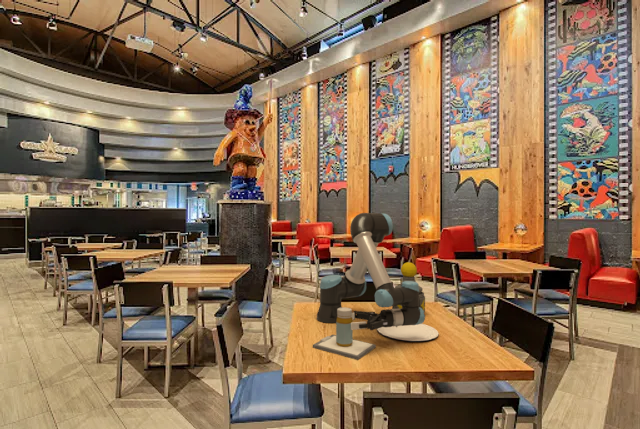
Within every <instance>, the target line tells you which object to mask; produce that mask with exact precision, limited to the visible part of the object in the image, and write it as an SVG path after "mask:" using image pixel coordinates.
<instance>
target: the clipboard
mask: <svg viewBox="0 0 640 429" xmlns="http://www.w3.org/2000/svg"><path fill="white" fill-rule="evenodd" d="M312 348H313V349H316V350H320V351H323V352H326V353H331V354H335V355H339V356H342V357H346V358H350V359H353V360H357V361H359V360H360V359H361V358H363V357H364V356H366V355H367V354H369V353H371V351H373V350H374V349H375V348H376V344H374V343H369V342H366V341H362V340H357V339H353V342H352V345H351V346H348V347H342V346H339V345H337V343H336V334H331V335H327V336H325V337H323V338H321V339H320V340H319V341H317V342H315V343H313V344H312ZM376 349H377V348H376Z"/></svg>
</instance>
